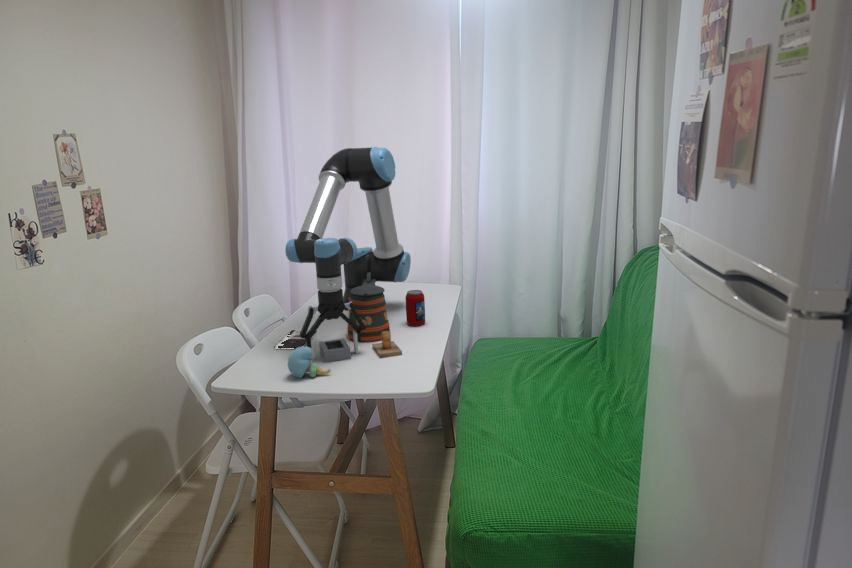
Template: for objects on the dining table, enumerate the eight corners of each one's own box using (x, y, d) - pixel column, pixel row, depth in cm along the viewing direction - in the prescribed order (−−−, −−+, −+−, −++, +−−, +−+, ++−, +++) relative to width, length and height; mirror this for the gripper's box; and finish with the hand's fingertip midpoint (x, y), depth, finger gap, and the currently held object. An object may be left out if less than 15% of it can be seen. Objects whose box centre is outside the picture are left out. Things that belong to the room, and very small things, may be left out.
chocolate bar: (273, 347, 199) (292, 330, 216) (273, 350, 199) (292, 332, 217) (300, 348, 198) (316, 330, 215) (300, 350, 198) (316, 332, 215)
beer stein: (349, 326, 220) (345, 272, 216) (390, 323, 221) (387, 269, 216) (346, 343, 202) (342, 285, 197) (390, 341, 203) (387, 282, 198)
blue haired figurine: (328, 352, 171) (285, 350, 170) (328, 382, 173) (286, 380, 173) (332, 343, 178) (290, 342, 177) (332, 372, 180) (291, 371, 180)
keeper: (372, 347, 197) (371, 329, 195) (393, 344, 199) (392, 326, 198) (380, 357, 188) (379, 338, 186) (402, 354, 190) (401, 335, 188)
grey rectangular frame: (319, 352, 195) (319, 341, 194) (344, 348, 197) (343, 338, 196) (325, 362, 186) (324, 351, 185) (350, 358, 188) (350, 348, 187)
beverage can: (423, 327, 216) (422, 294, 213) (404, 326, 217) (403, 294, 214) (427, 321, 222) (425, 289, 219) (409, 320, 224) (407, 289, 221)
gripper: (289, 296, 179) (296, 364, 184) (372, 287, 186) (376, 353, 192) (287, 291, 186) (293, 356, 191) (367, 282, 193) (370, 345, 198)
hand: (334, 355), depth 191 cm, fingers open, 13 cm apart
